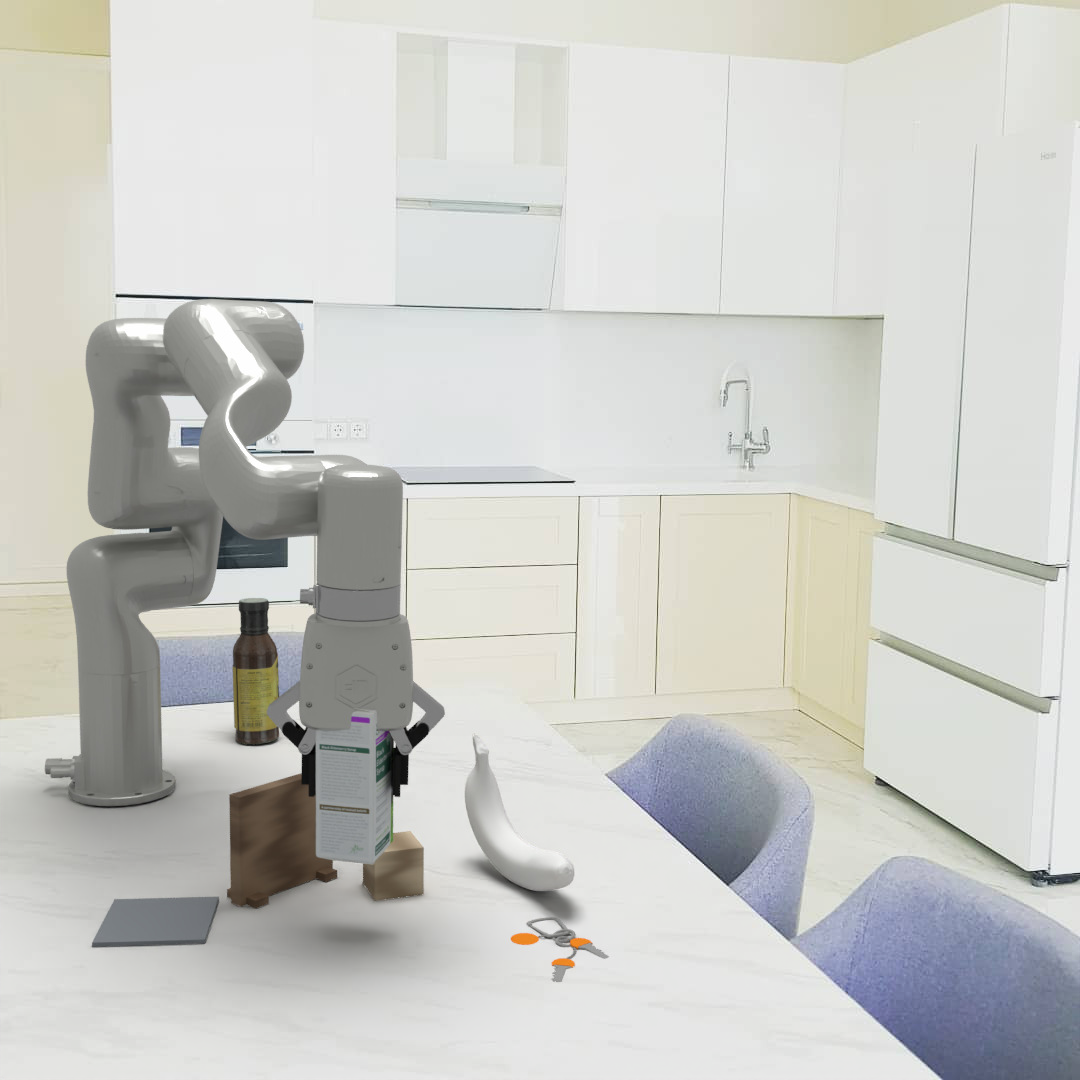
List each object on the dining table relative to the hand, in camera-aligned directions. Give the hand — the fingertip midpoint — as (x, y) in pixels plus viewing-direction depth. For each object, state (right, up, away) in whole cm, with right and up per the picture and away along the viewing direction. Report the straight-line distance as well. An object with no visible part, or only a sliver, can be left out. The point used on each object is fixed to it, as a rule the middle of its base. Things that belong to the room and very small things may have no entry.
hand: (355, 790), depth 125 cm
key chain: (+19, -15, -1) cm, 24 cm away
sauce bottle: (-23, -5, +65) cm, 69 cm away
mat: (-19, -13, +3) cm, 23 cm away
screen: (-9, -12, +12) cm, 19 cm away
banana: (+15, -12, +14) cm, 24 cm away
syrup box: (0, -6, +1) cm, 6 cm away
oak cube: (+2, -12, +12) cm, 18 cm away
